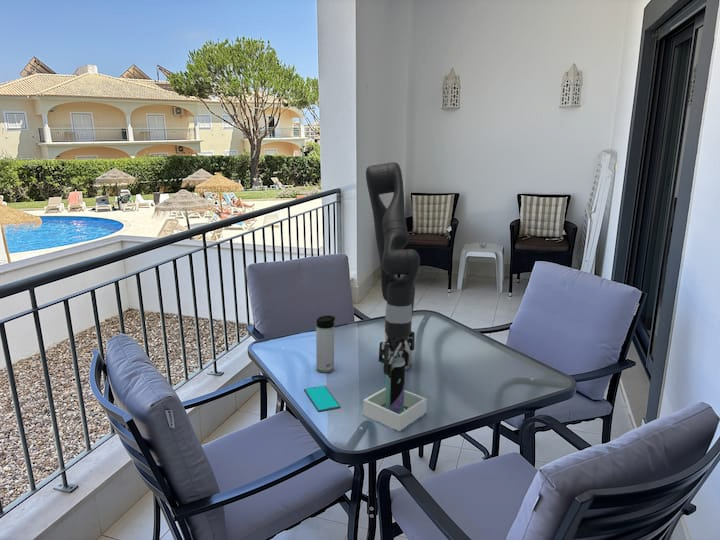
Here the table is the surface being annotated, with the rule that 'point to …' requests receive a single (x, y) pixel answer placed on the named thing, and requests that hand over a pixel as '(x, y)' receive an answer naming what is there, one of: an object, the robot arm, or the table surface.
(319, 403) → the smartphone
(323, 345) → the travel mug
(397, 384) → the spray can
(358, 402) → the table surface
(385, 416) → the white square tray
